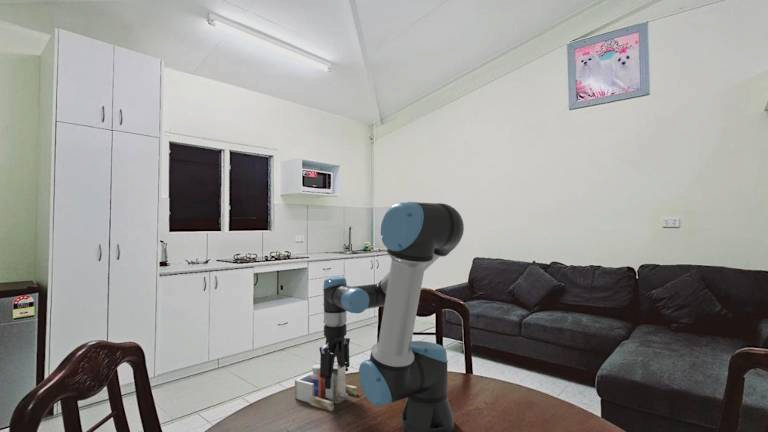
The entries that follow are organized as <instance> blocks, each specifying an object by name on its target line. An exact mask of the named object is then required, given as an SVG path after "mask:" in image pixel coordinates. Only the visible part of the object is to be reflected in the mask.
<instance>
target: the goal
mask: <svg viewBox="0 0 768 432" xmlns="http://www.w3.org/2000/svg"><path fill="white" fill-rule="evenodd" d="M312 372H313V371H311V372H309V373H307V374H304V375H303V376H301V377H299V378H297V379H294V399H296V400H299V401H303V402H306V403H309V404H310V397H311V396H314V384H313V383H310V374H311V373H312Z"/></svg>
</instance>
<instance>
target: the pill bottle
mask: <svg viewBox="0 0 768 432" xmlns="http://www.w3.org/2000/svg"><path fill="white" fill-rule="evenodd" d="M311 369H312V371H311V372H312V373H311V372H310V373H311V374H310V383H313V384H314V397H318V372H320V364H319V363H317V364H314V365H312V368H311Z"/></svg>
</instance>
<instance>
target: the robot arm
mask: <svg viewBox="0 0 768 432" xmlns="http://www.w3.org/2000/svg"><path fill="white" fill-rule="evenodd" d="M464 226H465V225H464V221H463V218H462V216H461V214H460V213H459V211H458V210H457V209H456V208H455V207H453V206H451V205H448V204H446V203H441V202H440V203H439V202H438V203H436V202H435V203H433V202H420V201H419V202H417V201H407V202H398V203H395V204H393V205H392V206H391V207H390V208H388V209H387V210H386V212H385V213H384V215H383V218H382V221H381V224H380V236H381V242H382V244H383V245H384V247H385V248H387V249H386V253H387V255H388V256H389V257H390V260H391V263H390V269H389V271H388V272H387V274H386V275H385V276H384V277H383V278H382V279H381V280H379V282H378V283H372V284H365V285H364V284H362V285H355V286H352V285H351V286H349V285H348V284H347V279H346V277H343V276H331V277H330V276H329V277H326V278H325V279H324V280H323V288H322V289H323V324H324V325H323V336H324V337H325V338H326V339H325V344H324V345H323V346H320V347H319V353H320V354H319V355H320V358H319V359H320V377H321V378H325V388H326V398H325V399H329V398H330V399H333V398H334V378H332V372H333V366H334V364H335V358H336V363H337V364H340V365H344V366H346V372H348V371H349V367H350V342H351V341H350V340H351V338H348V337H346V336H347V324H346V323H347V322H348V319H347V312H348V313H351V314H361V313H363V312H365V310H368V309H369V310H370V309H373V308H379V307H383V313H382V319H381V322H380V323H381V324H380V330H379V336H378V342H377V343H375V344H373V345H372V347H371V351H370V355H369V357H370V358H369V359H365V360H364V361H362V362H360V364H359V368H358V378H359V384H360V387H361V389H362V392H363V394H364V396H365V397H366V399H367V400H368V402H370V403H371V404H372V405H374V406H377V407H381V406H387V405H390V404H392V403H393V404H394V403H395V402H396V403H397V402H398V401H401V400H404V399H406V400H405V402H404V405H403V410H402V412H401V417H400V418H401V419H400V421H401V422H400V425H401V428H402V430H403V431H405V432H453V431H454V429H455V418H454V414H453V412H452V408H451V406H450V401H449V399H448V363H449V361H448V357H447V355H448V354H447V349H446V347H444V346H442V345H441V344H438V343H434V342H430V341H422V340H413V335H414V331H415V330H414V329H415V323H416V318H417V314H418V313H417V312H418V307H419V302H420V297H421V292H422V291H421V290H422V287H423V286H422V285H423V280H424V274H425V271H426V270H427V269H428V268H430V267H431V266H432V265H433V264H434V263H435V262H436V261H437V260H438V259H439V258H440V257H446V256H448V255H449V254H450V253H451V252H453V250H454V249H455V248H456V247H457V246H458V245H459V243H460V242H461V239H462V238H463V235H464V229H465V227H464ZM328 374H329V375H328Z"/></svg>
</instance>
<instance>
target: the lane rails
mask: <svg viewBox="0 0 768 432" xmlns="http://www.w3.org/2000/svg"><path fill="white" fill-rule="evenodd" d="M346 393H347V394H348V395H352V396H357V395H358V386H355V385H351V384H347V383H346ZM309 405H310V406H313V407H314V408H315V407H316V408H320V409H322V410H325V411H326V410H327V411H328V412H329V411H330V412H333V411H334V409H335V407H334V406H335V403H334V402H332V401H329V399H326V398H324V399H322V398H318V397H314V396H311V397H310V403H309Z"/></svg>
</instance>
